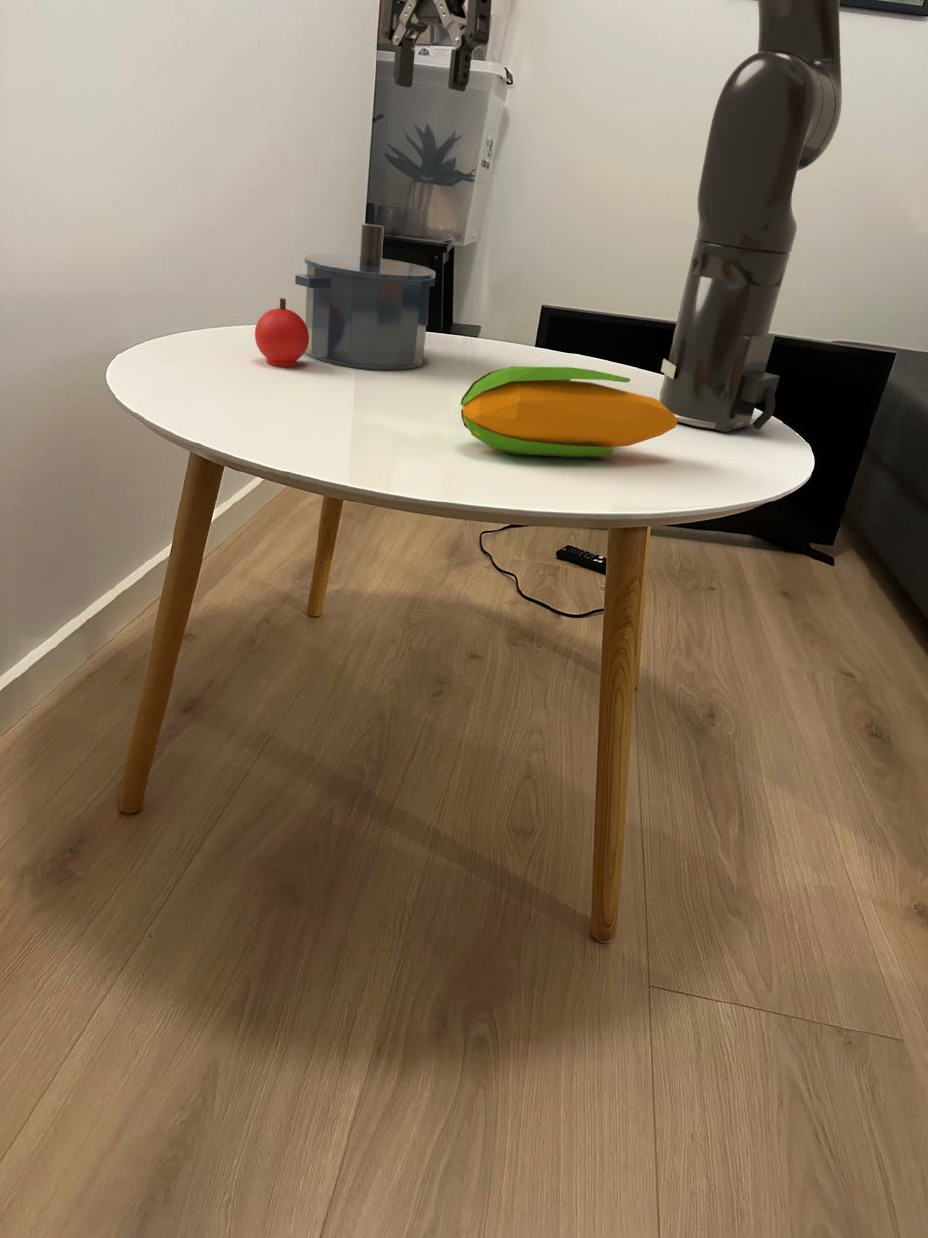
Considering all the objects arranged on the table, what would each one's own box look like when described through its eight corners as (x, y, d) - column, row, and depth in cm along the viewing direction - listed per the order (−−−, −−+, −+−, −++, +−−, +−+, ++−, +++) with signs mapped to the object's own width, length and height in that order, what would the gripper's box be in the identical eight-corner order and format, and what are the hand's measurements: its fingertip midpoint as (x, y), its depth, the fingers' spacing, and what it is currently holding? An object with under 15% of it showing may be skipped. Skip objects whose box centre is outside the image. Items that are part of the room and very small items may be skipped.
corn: (456, 345, 72) (668, 361, 77) (444, 432, 76) (647, 440, 81) (479, 374, 66) (707, 388, 71) (466, 466, 70) (682, 472, 75)
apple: (318, 367, 92) (321, 303, 89) (276, 371, 88) (277, 304, 85) (286, 355, 95) (287, 292, 92) (244, 358, 91) (243, 293, 88)
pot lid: (461, 285, 97) (466, 236, 94) (365, 287, 87) (368, 232, 84) (373, 263, 105) (376, 218, 102) (276, 263, 95) (277, 212, 92)
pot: (461, 362, 103) (471, 279, 98) (340, 376, 90) (345, 280, 85) (383, 338, 110) (389, 259, 106) (261, 347, 97) (262, 257, 93)
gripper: (518, -85, 89) (497, 96, 96) (421, -78, 97) (408, 89, 104) (471, -107, 84) (452, 86, 91) (372, -98, 91) (362, 79, 99)
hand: (429, 88), depth 98 cm, fingers open, 8 cm apart
